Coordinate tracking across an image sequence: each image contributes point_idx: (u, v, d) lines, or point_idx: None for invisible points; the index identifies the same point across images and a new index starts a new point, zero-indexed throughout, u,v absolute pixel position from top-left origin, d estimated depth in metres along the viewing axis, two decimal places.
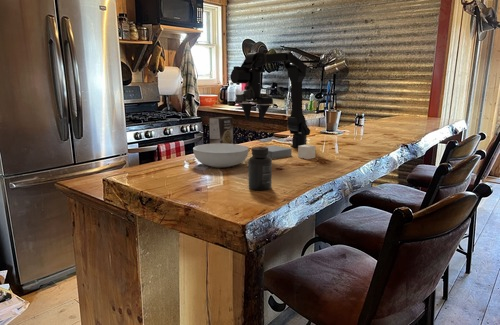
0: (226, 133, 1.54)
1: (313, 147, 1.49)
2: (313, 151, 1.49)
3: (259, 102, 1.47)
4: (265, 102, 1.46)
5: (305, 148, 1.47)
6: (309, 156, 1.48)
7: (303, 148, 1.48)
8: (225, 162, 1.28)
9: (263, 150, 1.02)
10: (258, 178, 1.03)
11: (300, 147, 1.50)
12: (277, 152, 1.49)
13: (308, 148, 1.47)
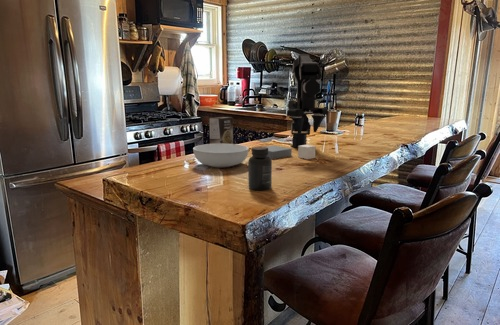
0: (226, 133, 1.54)
1: (313, 147, 1.49)
2: (313, 151, 1.49)
3: None
4: (288, 114, 1.43)
5: (305, 148, 1.47)
6: (309, 156, 1.48)
7: (303, 148, 1.48)
8: (225, 162, 1.28)
9: (263, 150, 1.02)
10: (258, 178, 1.03)
11: (300, 147, 1.50)
12: (277, 152, 1.49)
13: (308, 148, 1.47)
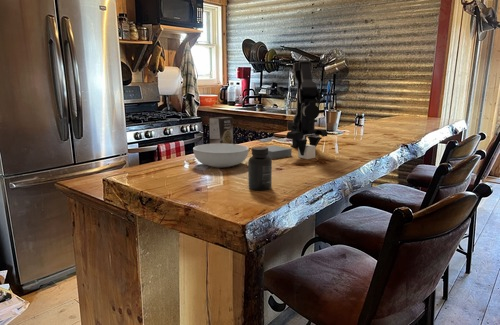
0: (226, 133, 1.54)
1: (313, 147, 1.49)
2: (313, 151, 1.49)
3: None
4: (288, 136, 1.45)
5: (305, 148, 1.47)
6: (309, 156, 1.48)
7: None
8: (225, 162, 1.28)
9: (263, 150, 1.02)
10: (258, 178, 1.03)
11: None
12: (277, 152, 1.49)
13: (308, 148, 1.47)
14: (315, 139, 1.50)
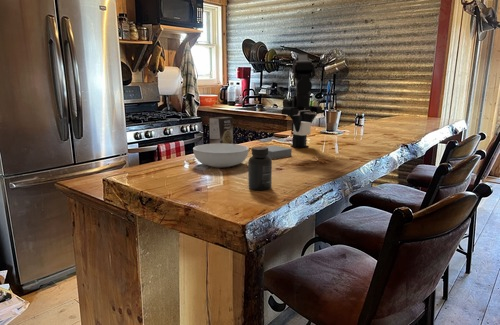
0: (226, 133, 1.54)
1: (308, 123, 1.48)
2: (308, 127, 1.48)
3: None
4: (283, 112, 1.43)
5: (300, 124, 1.46)
6: (304, 132, 1.47)
7: None
8: (225, 162, 1.28)
9: (263, 150, 1.02)
10: (258, 178, 1.03)
11: None
12: (277, 152, 1.49)
13: (303, 124, 1.46)
14: (310, 116, 1.49)
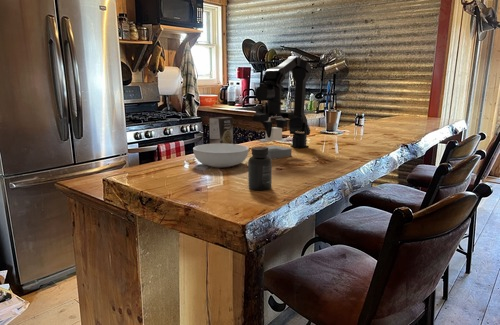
0: (226, 133, 1.54)
1: (280, 129, 1.52)
2: (280, 133, 1.52)
3: None
4: (254, 119, 1.48)
5: (271, 130, 1.51)
6: (275, 138, 1.51)
7: None
8: (225, 162, 1.28)
9: (263, 150, 1.02)
10: (258, 178, 1.03)
11: None
12: (277, 152, 1.49)
13: (274, 130, 1.50)
14: (282, 122, 1.53)
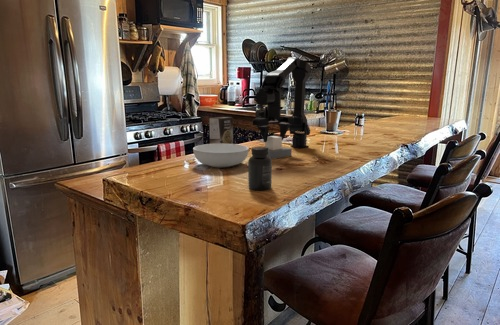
0: (226, 133, 1.54)
1: (279, 138, 1.53)
2: (279, 142, 1.53)
3: None
4: (254, 123, 1.48)
5: (271, 139, 1.51)
6: (275, 146, 1.52)
7: (269, 139, 1.52)
8: (225, 162, 1.28)
9: (263, 150, 1.02)
10: (258, 178, 1.03)
11: (267, 138, 1.53)
12: (277, 152, 1.49)
13: (274, 139, 1.51)
14: (285, 125, 1.55)
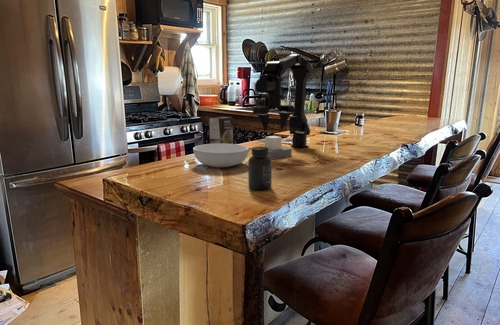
0: (226, 133, 1.54)
1: (279, 138, 1.53)
2: (279, 142, 1.53)
3: None
4: (254, 111, 1.48)
5: (271, 139, 1.51)
6: (274, 146, 1.52)
7: (269, 139, 1.52)
8: (225, 162, 1.28)
9: (263, 150, 1.02)
10: (258, 178, 1.03)
11: (266, 138, 1.54)
12: (277, 152, 1.49)
13: (274, 139, 1.51)
14: (285, 114, 1.54)
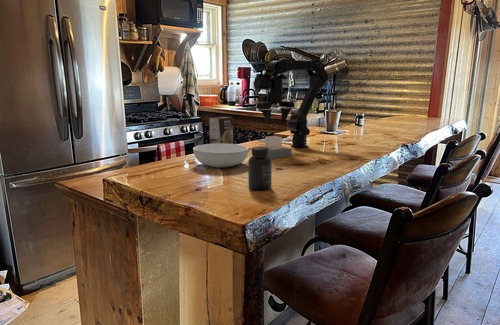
0: (226, 133, 1.54)
1: (279, 138, 1.53)
2: (279, 142, 1.53)
3: None
4: (258, 106, 1.61)
5: (271, 139, 1.51)
6: (275, 146, 1.52)
7: (269, 139, 1.52)
8: (225, 162, 1.28)
9: (263, 150, 1.02)
10: (258, 178, 1.03)
11: (267, 138, 1.54)
12: (277, 152, 1.49)
13: (274, 139, 1.51)
14: (286, 110, 1.67)
